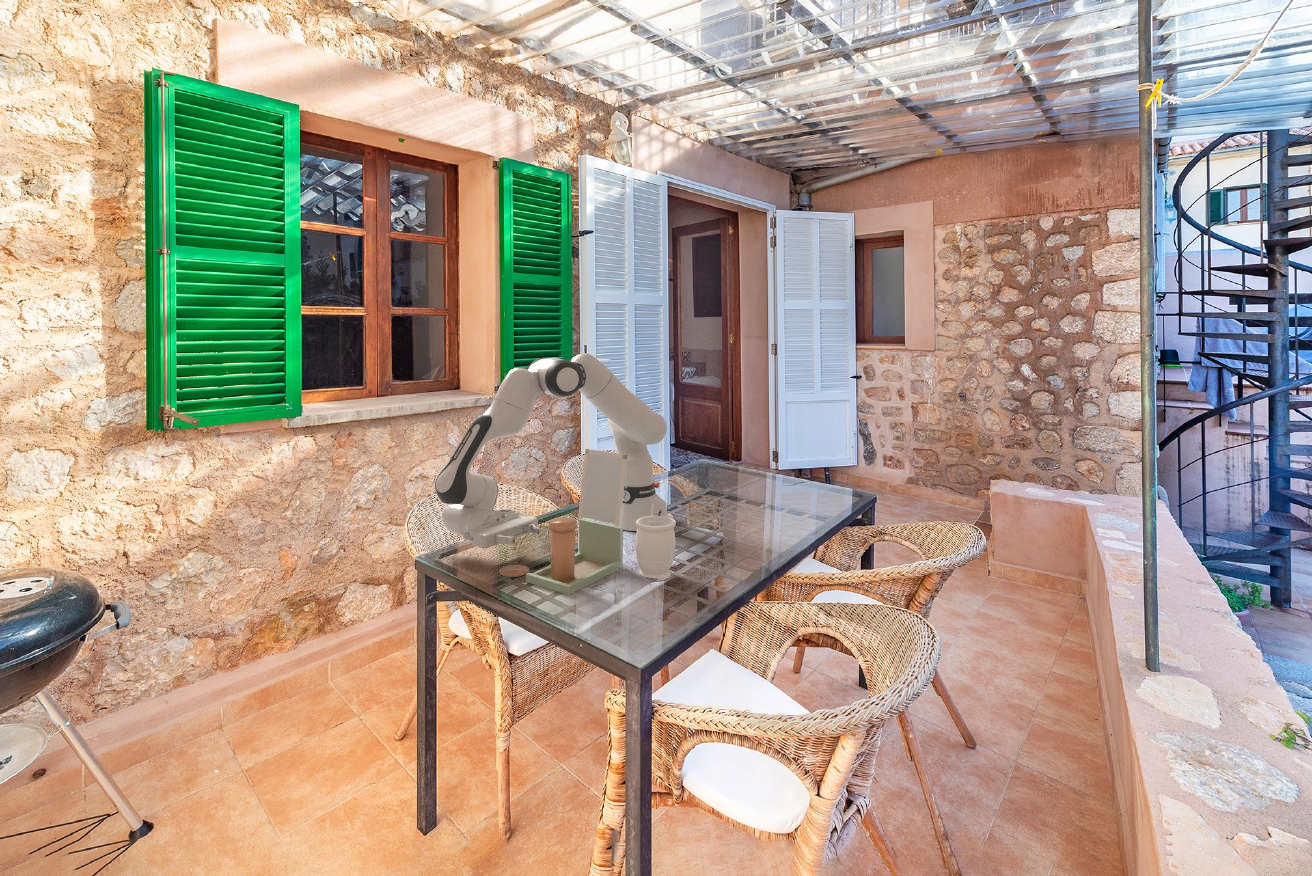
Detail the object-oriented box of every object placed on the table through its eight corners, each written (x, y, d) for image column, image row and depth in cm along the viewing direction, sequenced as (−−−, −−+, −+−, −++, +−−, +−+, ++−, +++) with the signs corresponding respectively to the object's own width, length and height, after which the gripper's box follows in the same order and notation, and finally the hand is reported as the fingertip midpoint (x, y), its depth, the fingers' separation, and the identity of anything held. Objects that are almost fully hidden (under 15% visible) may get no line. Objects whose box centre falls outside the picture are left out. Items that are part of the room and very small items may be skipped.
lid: (577, 517, 175) (579, 517, 175) (618, 526, 168) (619, 526, 168) (585, 448, 174) (587, 449, 175) (626, 455, 167) (627, 455, 168)
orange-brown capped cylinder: (561, 570, 167) (561, 515, 165) (581, 576, 164) (582, 520, 161) (543, 579, 162) (543, 522, 159) (564, 585, 158) (564, 527, 156)
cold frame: (581, 559, 179) (581, 518, 177) (622, 570, 171) (622, 527, 169) (526, 585, 160) (525, 539, 158) (568, 598, 153) (568, 550, 151)
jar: (648, 565, 175) (649, 512, 173) (681, 573, 170) (683, 519, 167) (627, 578, 166) (627, 522, 164) (661, 586, 161) (662, 529, 158)
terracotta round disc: (514, 567, 172) (514, 562, 172) (535, 573, 168) (535, 568, 168) (493, 575, 166) (493, 571, 166) (514, 582, 162) (514, 577, 162)
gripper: (458, 524, 166) (496, 534, 158) (515, 507, 183) (552, 515, 175) (459, 547, 167) (497, 558, 159) (516, 528, 184) (552, 538, 177)
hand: (526, 536), depth 168 cm, fingers open, 8 cm apart
